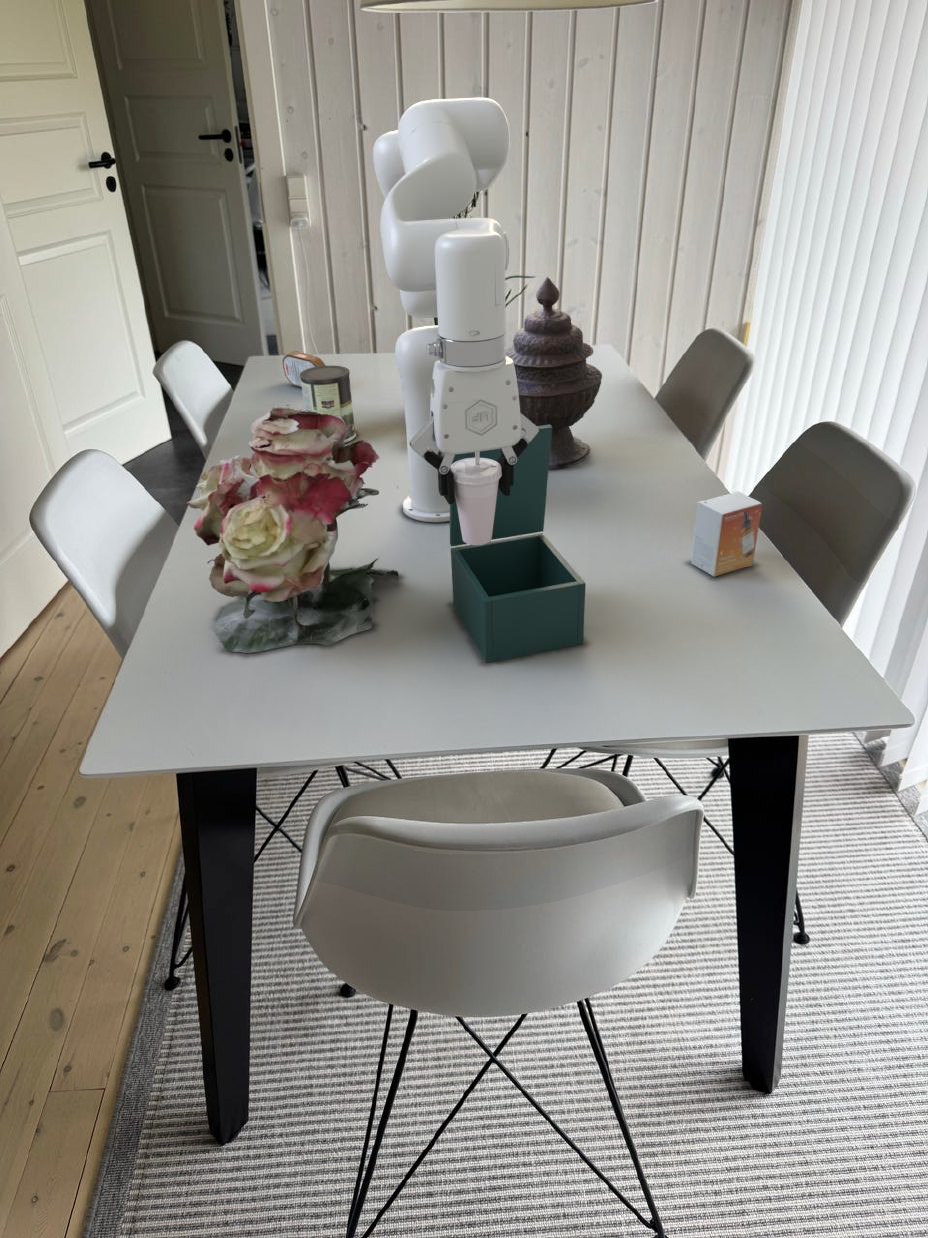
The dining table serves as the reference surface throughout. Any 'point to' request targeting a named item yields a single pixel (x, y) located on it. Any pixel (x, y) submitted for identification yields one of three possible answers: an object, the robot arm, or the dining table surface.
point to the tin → (299, 365)
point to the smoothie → (476, 497)
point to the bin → (517, 597)
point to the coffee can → (329, 394)
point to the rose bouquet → (287, 533)
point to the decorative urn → (554, 375)
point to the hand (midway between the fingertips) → (476, 494)
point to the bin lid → (516, 491)
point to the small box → (725, 533)
